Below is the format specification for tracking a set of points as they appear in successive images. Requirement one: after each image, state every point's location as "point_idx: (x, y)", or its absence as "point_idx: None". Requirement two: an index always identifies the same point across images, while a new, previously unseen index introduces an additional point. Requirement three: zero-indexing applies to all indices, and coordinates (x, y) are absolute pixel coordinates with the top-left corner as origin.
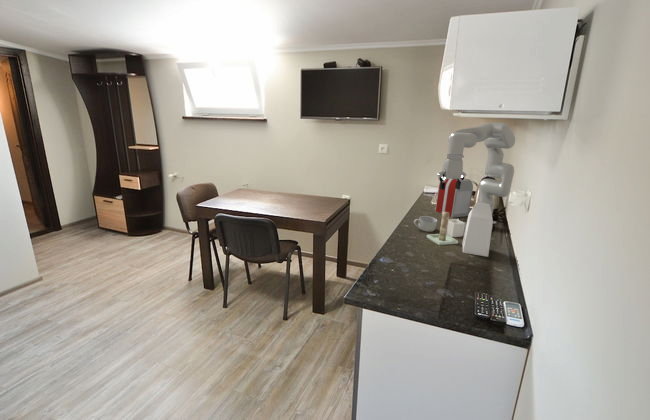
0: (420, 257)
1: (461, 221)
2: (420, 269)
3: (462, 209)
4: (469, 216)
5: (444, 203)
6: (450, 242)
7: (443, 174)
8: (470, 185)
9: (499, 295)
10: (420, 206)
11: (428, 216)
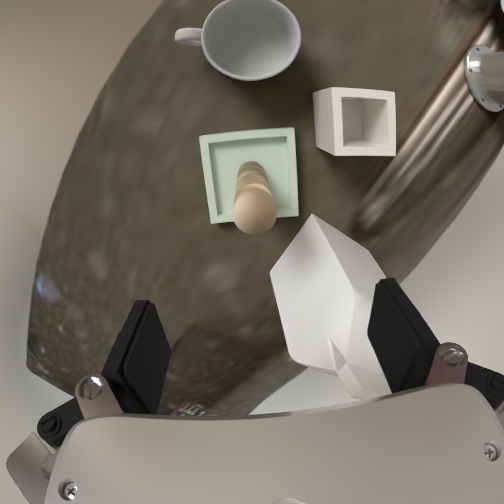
0: (121, 289)
1: (393, 130)
2: (110, 337)
3: None
4: (320, 326)
5: None
6: None
7: (109, 467)
8: None
9: (220, 410)
10: None
11: (274, 2)
